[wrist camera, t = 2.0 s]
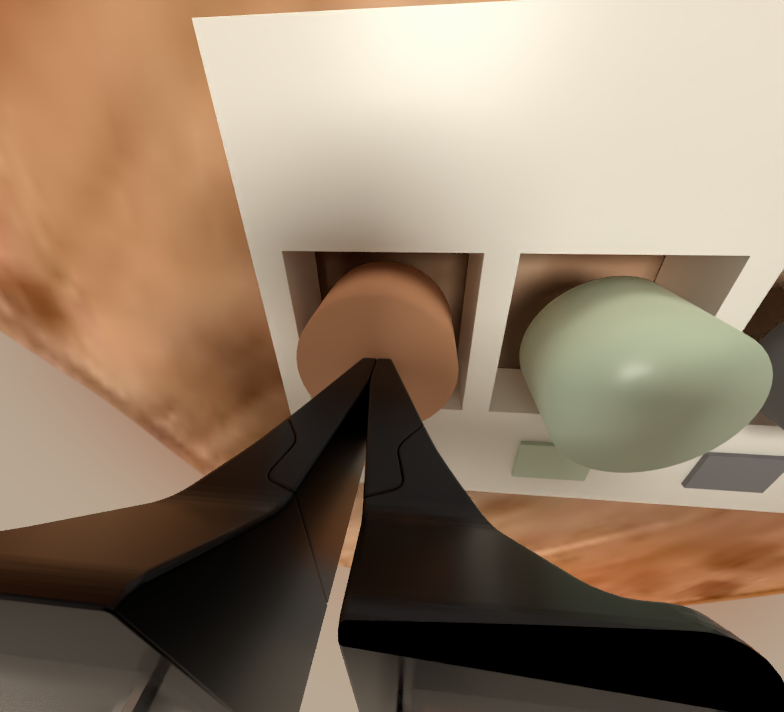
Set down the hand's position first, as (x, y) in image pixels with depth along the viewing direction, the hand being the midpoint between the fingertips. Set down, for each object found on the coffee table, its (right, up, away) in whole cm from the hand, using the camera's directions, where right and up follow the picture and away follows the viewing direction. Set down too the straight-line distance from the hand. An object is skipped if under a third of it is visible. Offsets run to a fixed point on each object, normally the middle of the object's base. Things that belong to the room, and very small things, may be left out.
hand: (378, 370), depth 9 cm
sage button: (+7, +1, +1) cm, 7 cm away
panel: (+7, +2, +4) cm, 8 cm away
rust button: (0, +2, +3) cm, 3 cm away
